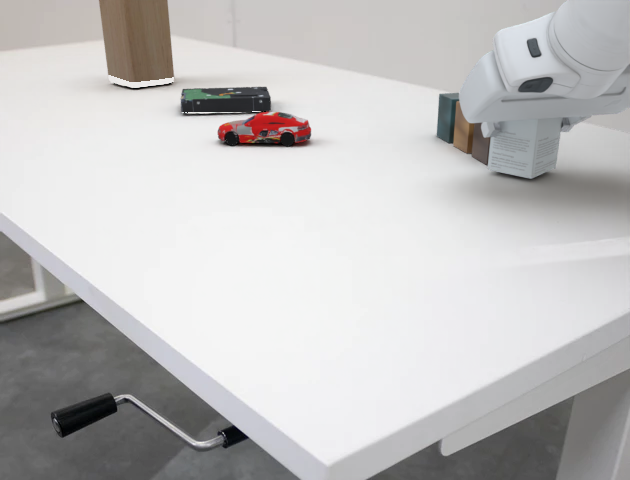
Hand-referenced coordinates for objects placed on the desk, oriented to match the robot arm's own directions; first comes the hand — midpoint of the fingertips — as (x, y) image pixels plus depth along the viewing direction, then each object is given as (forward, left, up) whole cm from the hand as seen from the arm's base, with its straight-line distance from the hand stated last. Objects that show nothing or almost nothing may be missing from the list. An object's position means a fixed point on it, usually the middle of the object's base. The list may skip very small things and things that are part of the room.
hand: (524, 129), depth 89 cm
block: (+88, -19, -5) cm, 90 cm away
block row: (+10, -8, -5) cm, 13 cm away
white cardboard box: (0, 0, -5) cm, 5 cm away
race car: (+36, +5, -5) cm, 36 cm away
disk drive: (+57, -10, -5) cm, 58 cm away
